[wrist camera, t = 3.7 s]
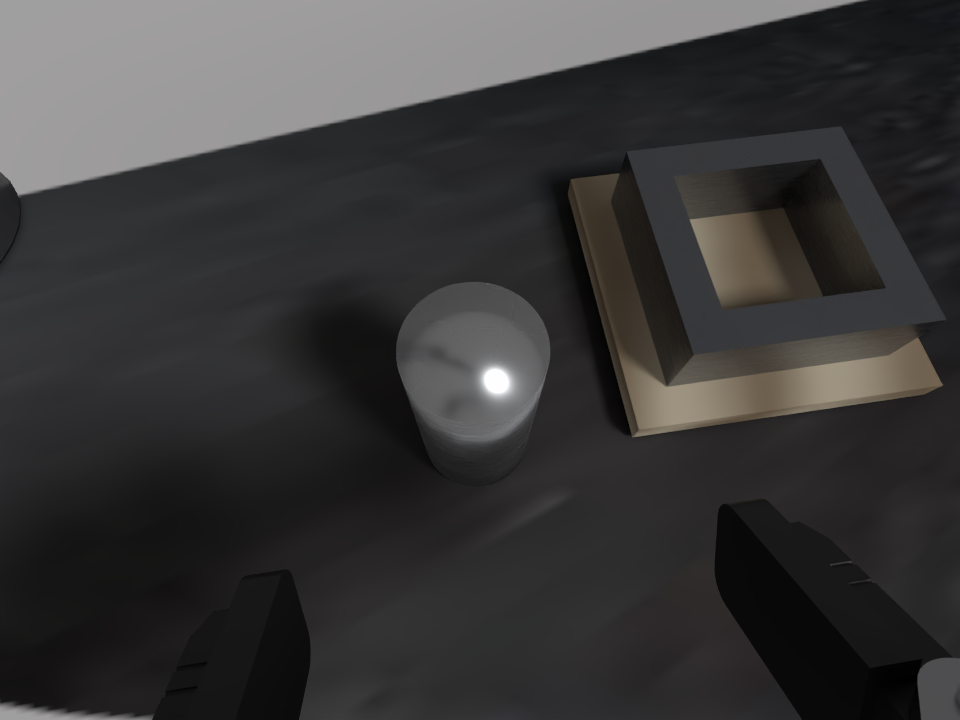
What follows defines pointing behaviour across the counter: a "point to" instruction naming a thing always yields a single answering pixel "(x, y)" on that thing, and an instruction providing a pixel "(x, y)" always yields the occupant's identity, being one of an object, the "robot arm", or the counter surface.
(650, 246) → the sleeve
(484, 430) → the cylinder
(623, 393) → the board
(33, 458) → the counter surface
